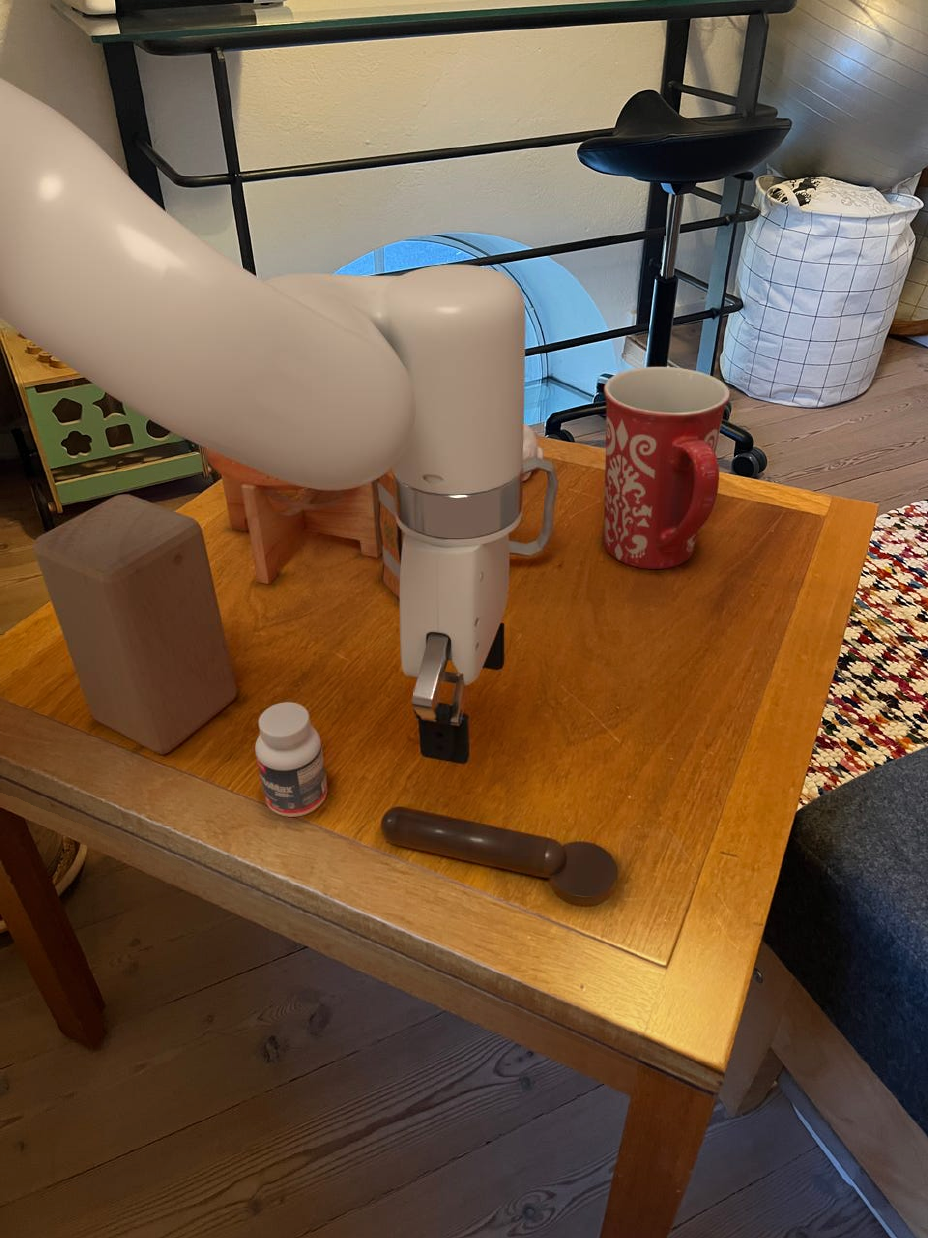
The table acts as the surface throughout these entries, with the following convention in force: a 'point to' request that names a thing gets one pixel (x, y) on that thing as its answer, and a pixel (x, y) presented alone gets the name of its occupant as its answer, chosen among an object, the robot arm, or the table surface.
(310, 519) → the planter
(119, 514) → the wooden block
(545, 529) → the mug
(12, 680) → the table surface
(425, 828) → the spoon
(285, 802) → the pill bottle
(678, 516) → the mug
